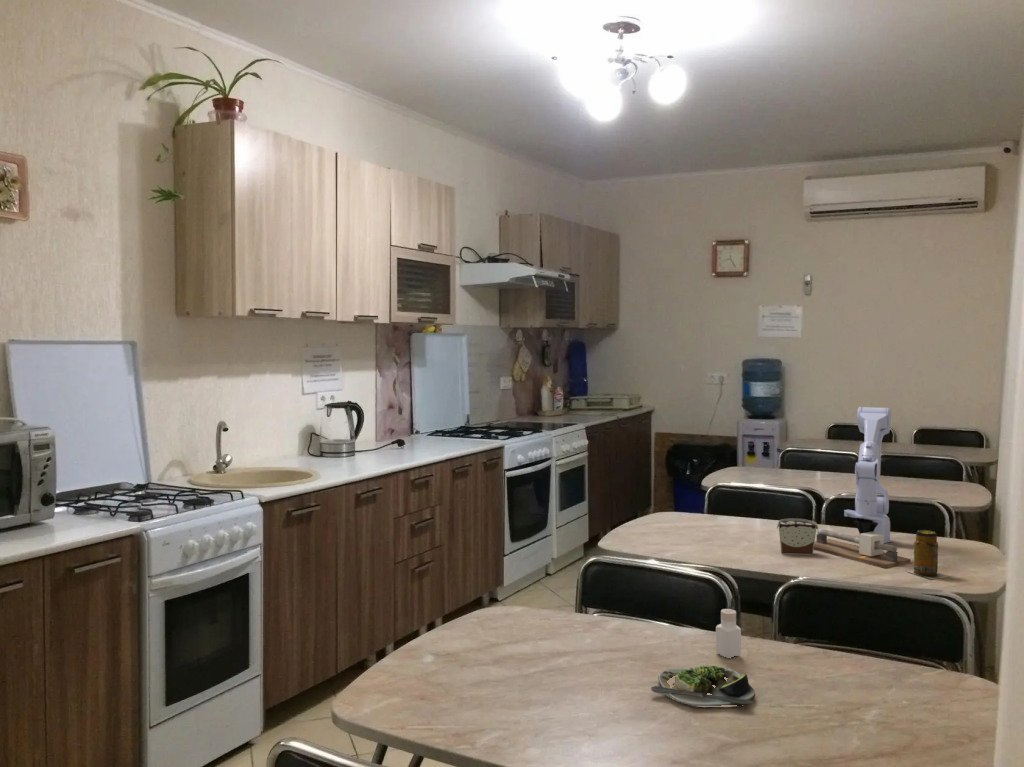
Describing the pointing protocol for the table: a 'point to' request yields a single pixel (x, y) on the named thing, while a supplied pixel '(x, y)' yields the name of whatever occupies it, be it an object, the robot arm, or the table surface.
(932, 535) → the condiment
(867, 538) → the collar
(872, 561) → the wooden slider rail
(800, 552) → the food container
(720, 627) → the salt shaker
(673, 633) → the table surface
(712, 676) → the salad plate
